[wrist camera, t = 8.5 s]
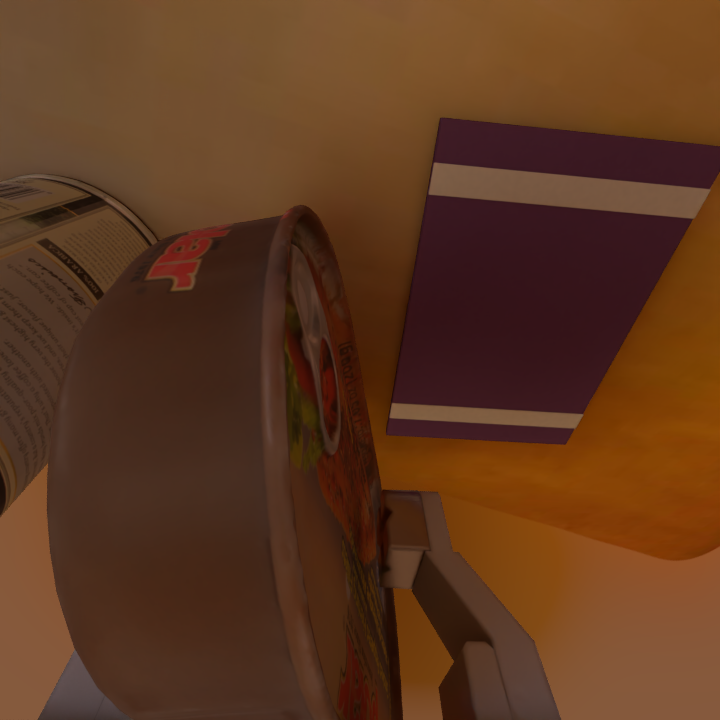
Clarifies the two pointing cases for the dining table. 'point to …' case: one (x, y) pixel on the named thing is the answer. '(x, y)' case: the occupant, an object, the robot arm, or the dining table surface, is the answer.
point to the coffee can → (50, 302)
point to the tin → (223, 486)
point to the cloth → (534, 273)
